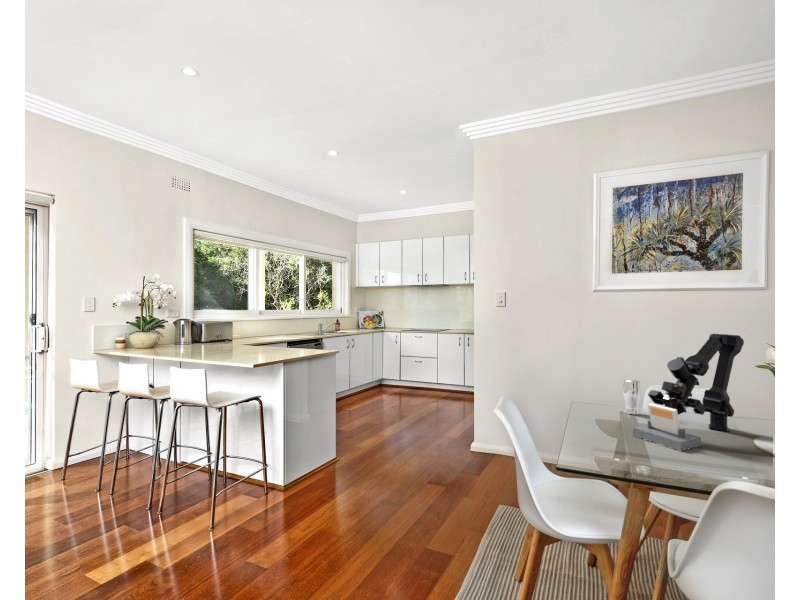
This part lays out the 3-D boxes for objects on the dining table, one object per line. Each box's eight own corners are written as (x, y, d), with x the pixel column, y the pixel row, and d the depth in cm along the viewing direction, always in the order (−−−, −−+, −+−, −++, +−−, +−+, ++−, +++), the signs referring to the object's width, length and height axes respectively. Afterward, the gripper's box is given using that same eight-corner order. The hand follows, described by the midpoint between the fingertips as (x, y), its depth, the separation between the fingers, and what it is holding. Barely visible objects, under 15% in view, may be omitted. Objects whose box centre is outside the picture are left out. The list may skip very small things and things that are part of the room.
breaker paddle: (654, 424, 166) (650, 403, 165) (680, 432, 157) (677, 409, 156) (651, 426, 165) (647, 404, 164) (677, 434, 156) (673, 411, 155)
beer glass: (619, 412, 199) (619, 380, 199) (630, 410, 202) (630, 379, 202) (632, 416, 193) (632, 383, 193) (643, 414, 195) (643, 381, 195)
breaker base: (653, 431, 172) (653, 416, 172) (700, 446, 155) (701, 429, 155) (632, 435, 166) (633, 420, 166) (680, 451, 150) (680, 434, 150)
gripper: (650, 369, 171) (632, 400, 167) (700, 378, 154) (681, 413, 150) (663, 387, 175) (645, 418, 170) (713, 397, 158) (695, 431, 153)
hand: (665, 419), depth 161 cm, fingers closed, pressing on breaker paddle
